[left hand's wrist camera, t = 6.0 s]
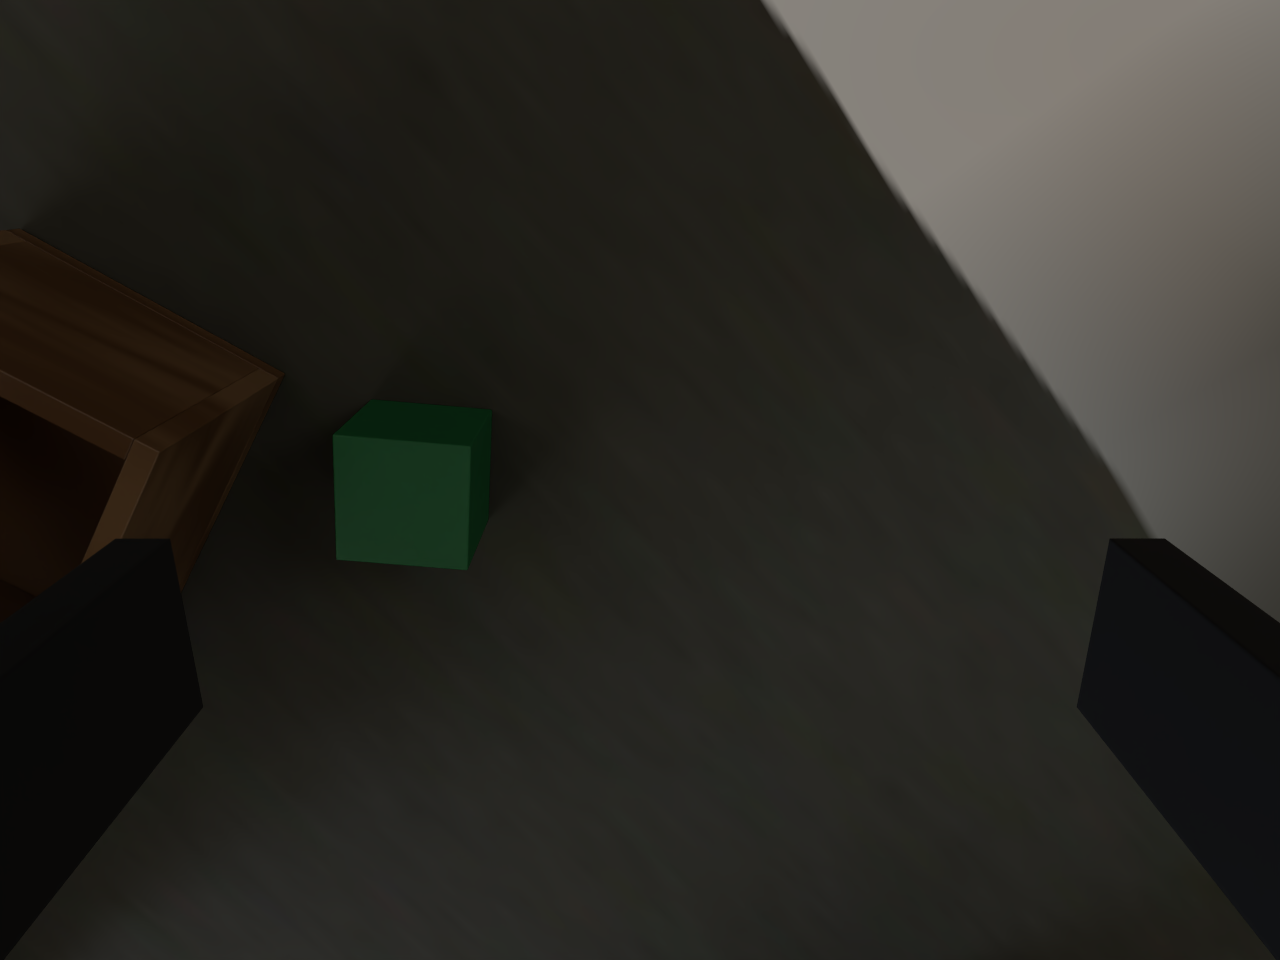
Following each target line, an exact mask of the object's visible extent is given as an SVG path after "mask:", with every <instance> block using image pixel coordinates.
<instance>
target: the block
mask: <svg viewBox="0 0 1280 960" xmlns="http://www.w3.org/2000/svg"><path fill="white" fill-rule="evenodd" d="M491 428H492V410H490V409H478V408H466V407H455V406H443V405H432V404H420V403H408V402H397V401H385V400H373V399H372V400H370V401H369V402H368V403H367V404H366V405H365V406H364V407H363V408H362V409H360V410H359V411H358V412H357V413H356V414H355V415H354V416H353V417H352V418H351V419H349V420H348V421H347V422H346V423H345V424H344V425H343V426H342V427H341V428H340V429H339V430H337V431H336V432H335V433H334V434H333V436H332V437H333V471H334V505H335V538H336V559H337V560H347V561H359V562H372V563H384V564H396V565H409V566H421V567H434V568H446V569H459V570H468V568H469V565H470V563H471V560H472V558H473V555H474V553H475V551H476V548H477V546H478V543H479V541H480V539H481V536H482V534H483V531H484V529H485V527H486V524H487V522H488V517H489V487H490V457H491Z"/></svg>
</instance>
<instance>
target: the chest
mask: <svg viewBox="0 0 1280 960" xmlns="http://www.w3.org/2000/svg"><path fill="white" fill-rule="evenodd" d="M284 376H285V374H284V373H283V372H281V371H279V370H277V369H276V368H274V367H272V366H270V365H268V364H266V363H265V362H263V361H261V360H259V359H257V358H255V357H254V356H252V355H250V354H248V353H246V352H244V351H243V350H241V349H239V348H237V347H235V346H233V345H232V344H230V343H228V342H226V341H224V340H222V339H221V338H219V337H217V336H215V335H213V334H211V333H210V332H208V331H206V330H204V329H202V328H200V327H199V326H197V325H195V324H193V323H191V322H190V321H188V320H186V319H184V318H182V317H180V316H179V315H177V314H175V313H173V312H171V311H169V310H168V309H166V308H164V307H162V306H160V305H158V304H157V303H155V302H153V301H151V300H149V299H147V298H146V297H144V296H142V295H140V294H138V293H136V292H135V291H133V290H131V289H129V288H127V287H125V286H124V285H122V284H120V283H118V282H116V281H114V280H113V279H111V278H109V277H107V276H105V275H103V274H102V273H100V272H98V271H96V270H94V269H92V268H91V267H89V266H87V265H85V264H83V263H82V262H80V261H78V260H76V259H74V258H72V257H71V256H69V255H67V254H65V253H63V252H61V251H60V250H58V249H56V248H54V247H52V246H50V245H49V244H47V243H45V242H43V241H41V240H39V239H38V238H36V237H34V236H32V235H30V234H28V233H27V232H25V231H23V230H21V229H11V230H2V231H0V623H1V622H2V621H4V620H5V619H7V618H8V617H9V616H11V615H12V614H13V613H15V612H16V611H17V610H19V609H20V608H21V607H23V606H24V605H26V604H27V603H28V602H30V601H31V600H32V599H34V598H35V597H36V596H38V595H39V594H41V593H42V592H43V591H45V590H46V589H47V588H49V587H50V586H51V585H53V584H54V583H56V582H57V581H58V580H60V579H61V578H62V577H64V576H65V575H66V574H68V573H69V572H71V571H72V570H73V569H75V568H76V567H77V566H79V565H80V564H81V563H83V562H84V561H86V560H87V559H88V558H90V557H91V556H92V555H94V554H95V553H96V552H98V551H99V550H100V549H102V548H103V547H105V546H106V545H107V544H109V543H110V542H111V541H113V540H114V539H170V540H171V546H172V551H173V556H174V561H175V566H176V571H177V576H178V581H179V586H180V592H182V590H183V588H184V586H185V584H186V581H187V579H188V577H189V575H190V573H191V571H192V569H193V567H194V565H195V563H196V560H197V558H198V556H199V554H200V552H201V550H202V548H203V546H204V544H205V542H206V539H207V537H208V535H209V533H210V531H211V529H212V527H213V525H214V523H215V521H216V518H217V516H218V514H219V512H220V510H221V508H222V506H223V504H224V502H225V500H226V497H227V495H228V493H229V491H230V489H231V487H232V485H233V483H234V481H235V479H236V476H237V474H238V472H239V470H240V468H241V466H242V464H243V462H244V460H245V458H246V455H247V453H248V451H249V449H250V447H251V445H252V443H253V441H254V439H255V437H256V434H257V432H258V430H259V428H260V426H261V424H262V422H263V420H264V418H265V416H266V414H267V411H268V409H269V407H270V405H271V403H272V401H273V399H274V397H275V395H276V393H277V390H278V388H279V386H280V384H281V382H282V380H283V378H284Z"/></svg>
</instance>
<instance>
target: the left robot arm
mask: <svg viewBox="0 0 1280 960" xmlns="http://www.w3.org/2000/svg"><path fill="white" fill-rule="evenodd" d="M202 708H203V704H202V699H201V694H200V688H199V683H198V678H197V673H196V668H195V663H194V658H193V653H192V648H191V643H190V637H189V632H188V627H187V622H186V617H185V612H184V607H183V602H182V597H181V592H180V586H179V581H178V576H177V571H176V566H175V561H174V556H173V551H172V546H171V540H170V539H114V540H113V541H111V542H110V543H109V544H107V545H106V546H105V547H103V548H102V549H100V550H99V551H98V552H96V553H95V554H94V555H92V556H91V557H90V558H88V559H87V560H86V561H84V562H83V563H81V564H80V565H79V566H77V567H76V568H75V569H73V570H72V571H71V572H69V573H68V574H66V575H65V576H64V577H62V578H61V579H60V580H58V581H57V582H56V583H54V584H53V585H51V586H50V587H49V588H47V589H46V590H45V591H43V592H42V593H41V594H39V595H38V596H36V597H35V598H34V599H32V600H31V601H30V602H28V603H27V604H26V605H24V606H23V607H21V608H20V609H19V610H17V611H16V612H15V613H13V614H12V615H11V616H9V617H8V618H7V619H5V620H4V621H2V622H1V623H0V960H4V959H5V957H6V956H7V955H8V954H9V952H10V951H11V950H12V948H13V947H14V946H15V945H16V943H17V942H18V941H19V940H20V938H21V937H22V936H23V935H24V933H25V932H26V931H27V929H28V928H29V927H30V926H31V924H32V923H33V922H34V921H35V919H36V918H37V917H38V916H39V914H40V913H41V912H42V910H43V909H44V908H45V907H46V905H47V904H48V903H49V902H50V900H51V899H52V898H53V897H54V895H55V894H56V893H57V891H58V890H59V889H60V888H61V886H62V885H63V884H64V883H65V881H66V880H67V879H68V878H69V876H70V875H71V874H72V872H73V871H74V870H75V869H76V867H77V866H78V865H79V864H80V862H81V861H82V860H83V859H84V857H85V856H86V855H87V853H88V852H89V851H90V850H91V848H92V847H93V846H94V845H95V843H96V842H97V841H98V839H99V838H100V837H101V836H102V834H103V833H104V832H105V831H106V829H107V828H108V827H109V826H110V824H111V823H112V822H113V820H114V819H115V818H116V817H117V815H118V814H119V813H120V812H121V810H122V809H123V808H124V807H125V805H126V804H127V803H128V801H129V800H130V799H131V798H132V796H133V795H134V794H135V793H136V791H137V790H138V789H139V788H140V786H141V785H142V784H143V782H144V781H145V780H146V779H147V777H148V776H149V775H150V774H151V772H152V771H153V770H154V769H155V767H156V766H157V765H158V763H159V762H160V761H161V760H162V758H163V757H164V756H165V755H166V753H167V752H168V751H169V750H170V748H171V747H172V746H173V744H174V743H175V742H176V741H177V739H178V738H179V737H180V736H181V734H182V733H183V732H184V731H185V729H186V728H187V727H188V725H189V724H190V723H191V722H192V720H193V719H194V718H195V717H196V715H197V714H198V713H199V712H200V710H201V709H202ZM1077 708H1078V709H1079V710H1080V712H1081V713H1082V714H1083V715H1084V717H1085V718H1086V719H1087V720H1088V722H1089V723H1090V724H1091V725H1092V727H1093V728H1094V729H1095V731H1096V732H1097V733H1098V734H1099V736H1100V737H1101V738H1102V739H1103V741H1104V742H1105V743H1106V744H1107V746H1108V747H1109V748H1110V750H1111V751H1112V752H1113V753H1114V755H1115V756H1116V757H1117V758H1118V760H1119V761H1120V762H1121V763H1122V765H1123V766H1124V767H1125V769H1126V770H1127V771H1128V772H1129V774H1130V775H1131V776H1132V777H1133V779H1134V780H1135V781H1136V782H1137V784H1138V785H1139V786H1140V788H1141V789H1142V790H1143V791H1144V793H1145V794H1146V795H1147V796H1148V798H1149V799H1150V800H1151V801H1152V803H1153V804H1154V805H1155V807H1156V808H1157V809H1158V810H1159V812H1160V813H1161V814H1162V815H1163V817H1164V818H1165V819H1166V820H1167V822H1168V823H1169V824H1170V826H1171V827H1172V828H1173V829H1174V831H1175V832H1176V833H1177V834H1178V836H1179V837H1180V838H1181V839H1182V841H1183V842H1184V843H1185V845H1186V846H1187V847H1188V848H1189V850H1190V851H1191V852H1192V853H1193V855H1194V856H1195V857H1196V858H1197V860H1198V861H1199V862H1200V864H1201V865H1202V866H1203V867H1204V869H1205V870H1206V871H1207V872H1208V874H1209V875H1210V876H1211V878H1212V879H1213V880H1214V881H1215V883H1216V884H1217V885H1218V886H1219V888H1220V889H1221V890H1222V891H1223V893H1224V894H1225V895H1226V897H1227V898H1228V899H1229V900H1230V902H1231V903H1232V904H1233V905H1234V907H1235V908H1236V909H1237V910H1238V912H1239V913H1240V914H1241V916H1242V917H1243V918H1244V919H1245V921H1246V922H1247V923H1248V924H1249V926H1250V927H1251V928H1252V929H1253V931H1254V932H1255V933H1256V935H1257V936H1258V937H1259V938H1260V940H1261V941H1262V942H1263V943H1264V945H1265V946H1266V947H1267V948H1268V950H1269V951H1270V952H1271V954H1272V955H1273V956H1274V957H1275V959H1276V960H1280V623H1279V622H1278V621H1276V620H1275V619H1274V618H1272V617H1271V616H1269V615H1268V614H1267V613H1265V612H1264V611H1263V610H1261V609H1260V608H1259V607H1257V606H1256V605H1254V604H1253V603H1252V602H1250V601H1249V600H1248V599H1246V598H1245V597H1244V596H1242V595H1241V594H1239V593H1238V592H1237V591H1235V590H1234V589H1233V588H1231V587H1230V586H1229V585H1227V584H1226V583H1224V582H1223V581H1222V580H1220V579H1219V578H1218V577H1216V576H1215V575H1214V574H1212V573H1211V572H1209V571H1208V570H1207V569H1205V568H1204V567H1203V566H1201V565H1200V564H1199V563H1197V562H1196V561H1194V560H1193V559H1192V558H1190V557H1189V556H1188V555H1186V554H1185V553H1184V552H1182V551H1181V550H1180V549H1178V548H1177V547H1175V546H1174V545H1173V544H1171V543H1170V542H1169V541H1167V540H1166V539H1110V540H1109V546H1108V551H1107V556H1106V561H1105V566H1104V571H1103V576H1102V581H1101V586H1100V592H1099V597H1098V602H1097V607H1096V612H1095V617H1094V622H1093V627H1092V632H1091V637H1090V643H1089V648H1088V653H1087V658H1086V663H1085V668H1084V673H1083V678H1082V683H1081V688H1080V694H1079V699H1078V704H1077Z"/></svg>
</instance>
